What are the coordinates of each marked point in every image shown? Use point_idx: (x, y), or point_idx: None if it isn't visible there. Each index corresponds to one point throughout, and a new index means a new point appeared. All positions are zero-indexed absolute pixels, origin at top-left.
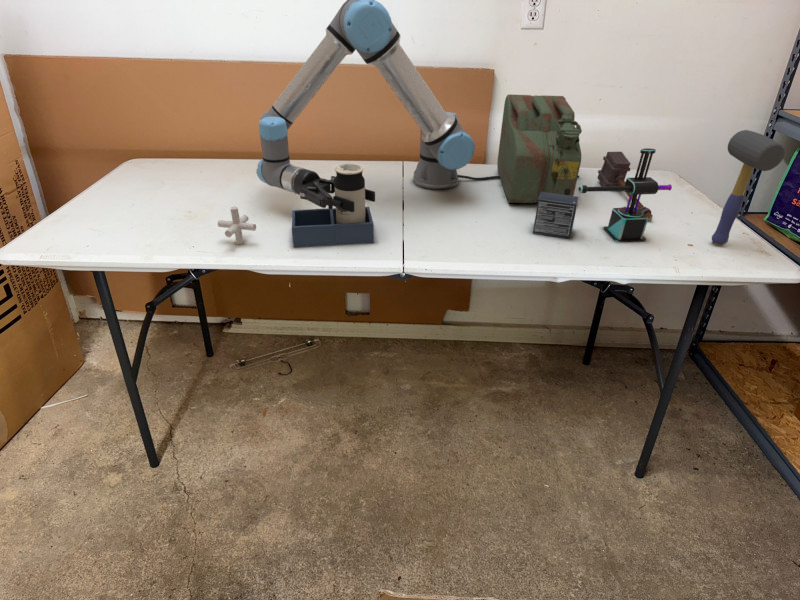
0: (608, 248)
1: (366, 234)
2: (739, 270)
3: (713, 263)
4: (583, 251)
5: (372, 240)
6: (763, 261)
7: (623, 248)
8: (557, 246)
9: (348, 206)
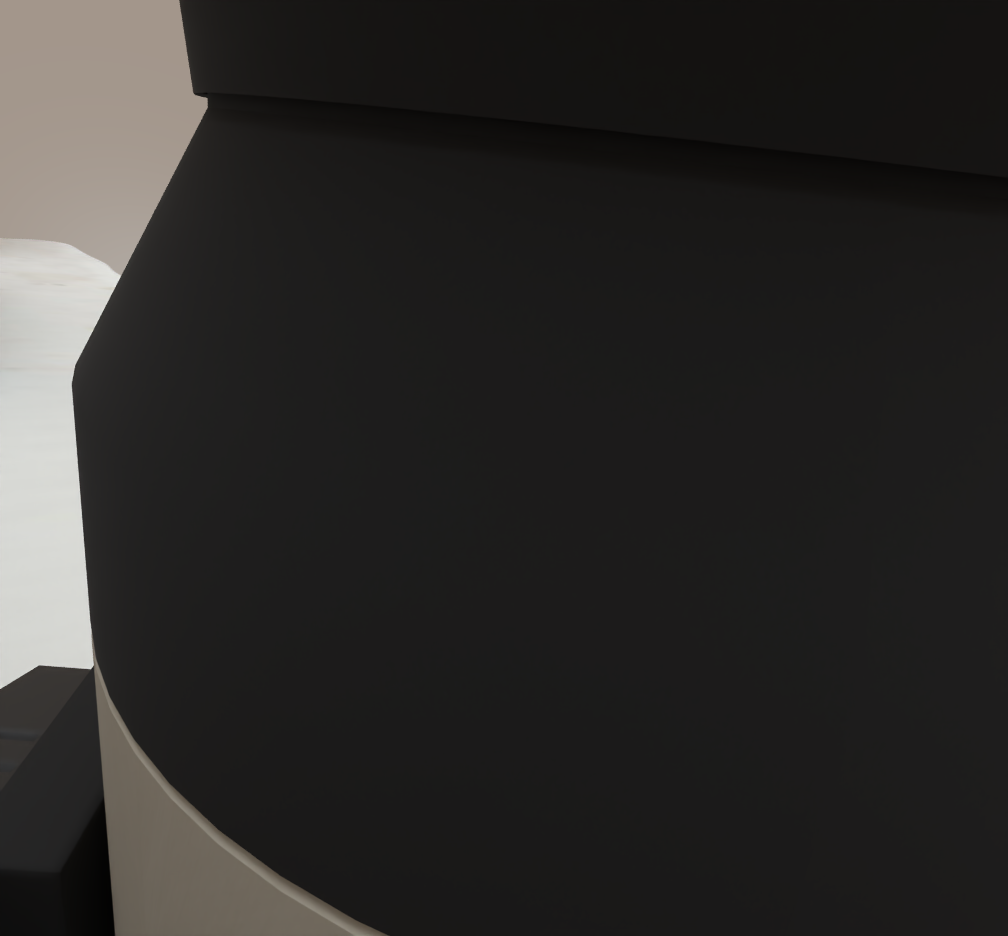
0: (18, 323)
1: None
2: (79, 260)
3: (55, 267)
4: (66, 345)
5: None
6: (15, 246)
7: (7, 312)
8: (44, 370)
9: None
